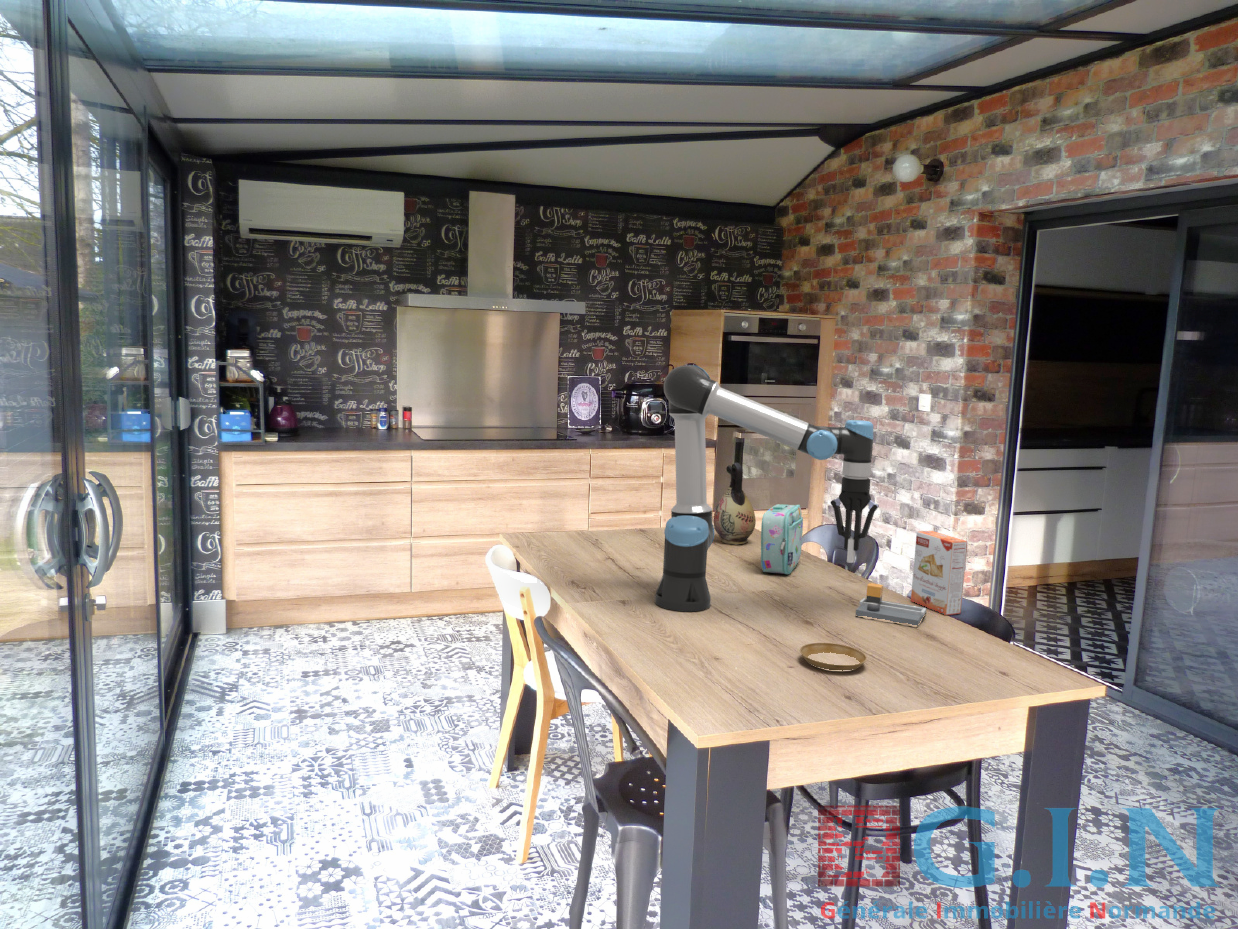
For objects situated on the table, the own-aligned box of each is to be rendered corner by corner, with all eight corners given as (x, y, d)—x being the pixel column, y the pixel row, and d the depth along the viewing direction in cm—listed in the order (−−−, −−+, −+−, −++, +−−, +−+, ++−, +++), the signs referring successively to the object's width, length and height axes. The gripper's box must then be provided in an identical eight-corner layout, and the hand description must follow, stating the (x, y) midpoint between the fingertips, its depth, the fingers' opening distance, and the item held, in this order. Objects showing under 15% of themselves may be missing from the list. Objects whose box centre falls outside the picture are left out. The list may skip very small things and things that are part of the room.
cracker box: (909, 602, 254) (915, 530, 251) (925, 600, 256) (931, 529, 253) (944, 616, 241) (951, 541, 238) (961, 614, 243) (968, 540, 241)
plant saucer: (879, 674, 194) (880, 662, 194) (819, 678, 190) (820, 666, 190) (843, 651, 208) (844, 641, 208) (787, 655, 204) (788, 644, 204)
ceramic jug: (707, 537, 331) (712, 458, 327) (748, 538, 333) (753, 459, 329) (717, 547, 314) (723, 464, 310) (760, 548, 316) (765, 465, 312)
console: (918, 628, 229) (920, 614, 228) (853, 616, 236) (854, 603, 236) (927, 615, 241) (928, 602, 240) (865, 604, 249) (866, 591, 248)
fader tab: (879, 606, 239) (880, 587, 239) (865, 604, 241) (867, 585, 240) (881, 603, 242) (883, 585, 241) (868, 601, 244) (869, 583, 243)
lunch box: (789, 580, 273) (794, 511, 270) (756, 575, 276) (761, 508, 273) (802, 562, 298) (806, 499, 295) (771, 558, 301) (776, 496, 298)
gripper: (883, 477, 241) (877, 562, 244) (835, 473, 247) (830, 556, 250) (877, 480, 234) (871, 567, 237) (829, 476, 240) (823, 561, 243)
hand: (850, 561), depth 243 cm, fingers closed
